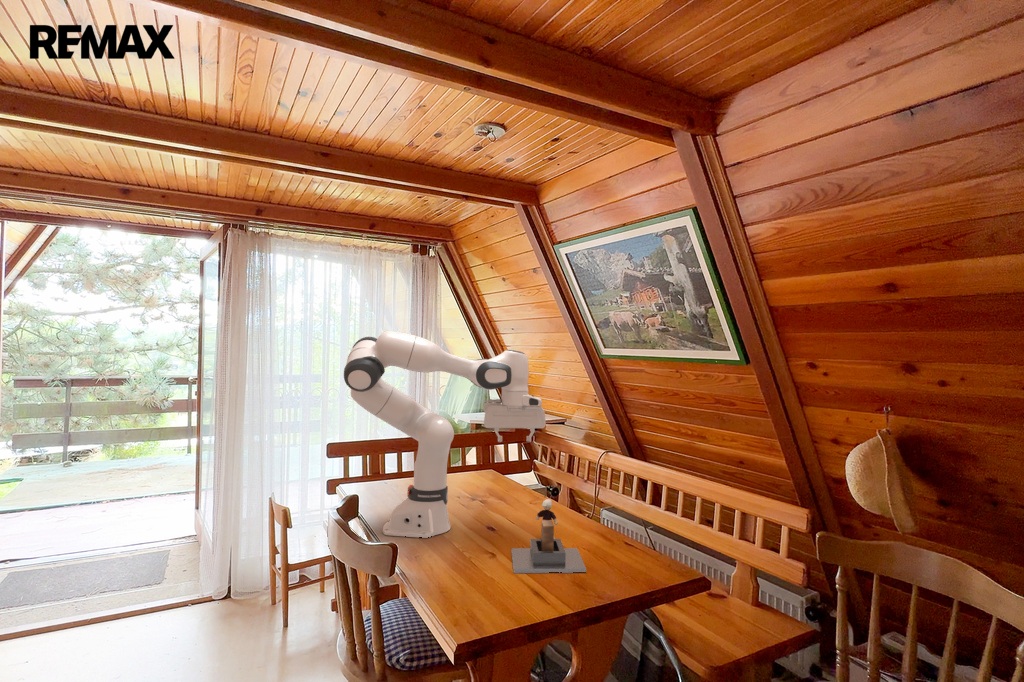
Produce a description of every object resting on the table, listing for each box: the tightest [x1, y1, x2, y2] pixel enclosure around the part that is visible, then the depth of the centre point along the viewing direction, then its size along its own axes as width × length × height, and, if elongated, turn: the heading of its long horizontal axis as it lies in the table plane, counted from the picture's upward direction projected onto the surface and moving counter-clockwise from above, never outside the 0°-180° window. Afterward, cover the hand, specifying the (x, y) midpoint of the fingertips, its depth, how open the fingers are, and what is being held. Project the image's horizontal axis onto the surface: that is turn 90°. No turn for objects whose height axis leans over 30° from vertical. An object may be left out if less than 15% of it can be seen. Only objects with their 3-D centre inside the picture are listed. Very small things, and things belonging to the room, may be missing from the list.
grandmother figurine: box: [535, 498, 558, 539], centre depth 174 cm, size 8×4×13 cm, turn 71°
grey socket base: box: [511, 538, 587, 574], centre depth 155 cm, size 20×15×5 cm
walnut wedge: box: [540, 520, 555, 551], centre depth 155 cm, size 3×5×10 cm, turn 3°
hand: (514, 441), depth 175 cm, fingers open, 8 cm apart
